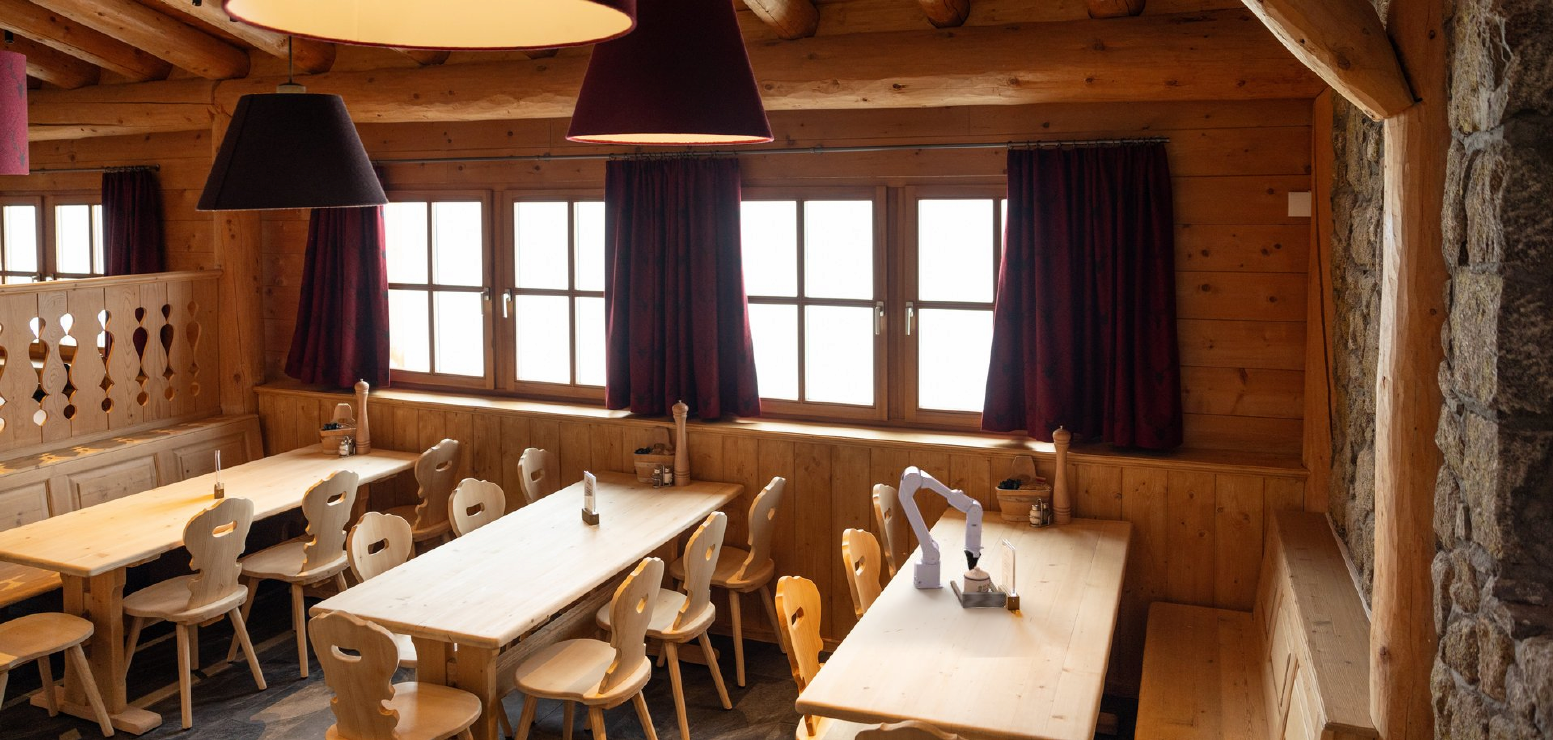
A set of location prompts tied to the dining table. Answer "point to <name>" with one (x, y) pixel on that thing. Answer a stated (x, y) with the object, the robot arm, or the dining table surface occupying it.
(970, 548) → the robot arm
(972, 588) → the teacup with lid
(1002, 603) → the guide track
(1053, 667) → the dining table surface
